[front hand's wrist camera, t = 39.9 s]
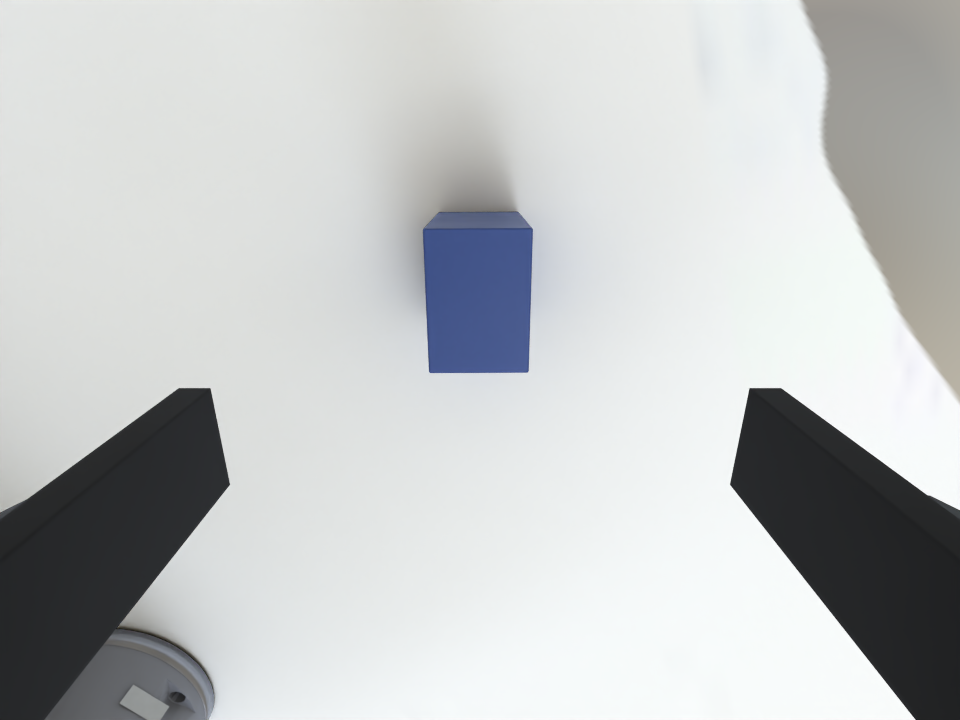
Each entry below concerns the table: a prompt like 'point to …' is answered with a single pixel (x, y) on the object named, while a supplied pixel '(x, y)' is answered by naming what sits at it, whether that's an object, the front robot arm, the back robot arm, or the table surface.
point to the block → (478, 292)
